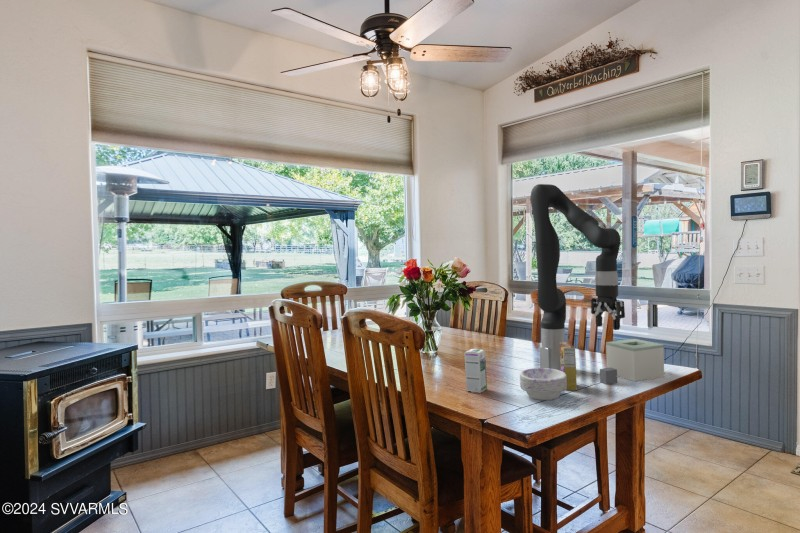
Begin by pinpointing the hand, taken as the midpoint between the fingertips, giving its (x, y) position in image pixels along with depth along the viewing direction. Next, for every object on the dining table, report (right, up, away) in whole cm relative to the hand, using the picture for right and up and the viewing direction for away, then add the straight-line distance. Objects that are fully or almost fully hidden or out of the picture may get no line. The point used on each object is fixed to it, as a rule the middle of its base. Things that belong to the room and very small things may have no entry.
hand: (607, 327), depth 176 cm
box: (+15, -19, +10) cm, 26 cm away
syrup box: (-48, -22, -2) cm, 53 cm away
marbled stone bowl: (-27, -22, -12) cm, 36 cm away
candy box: (-15, -21, -2) cm, 26 cm away
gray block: (+1, -20, +1) cm, 20 cm away
